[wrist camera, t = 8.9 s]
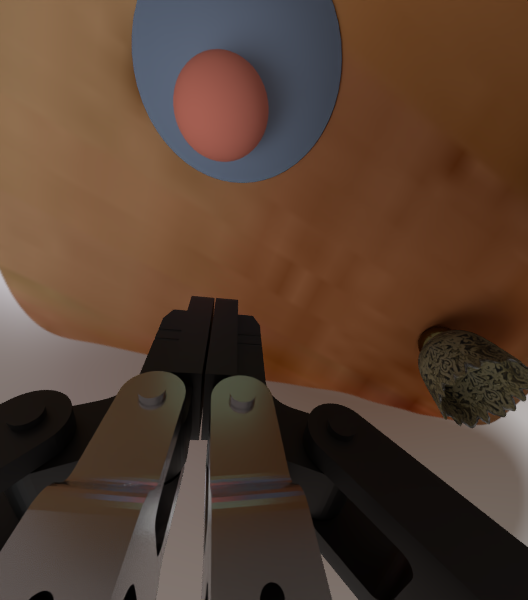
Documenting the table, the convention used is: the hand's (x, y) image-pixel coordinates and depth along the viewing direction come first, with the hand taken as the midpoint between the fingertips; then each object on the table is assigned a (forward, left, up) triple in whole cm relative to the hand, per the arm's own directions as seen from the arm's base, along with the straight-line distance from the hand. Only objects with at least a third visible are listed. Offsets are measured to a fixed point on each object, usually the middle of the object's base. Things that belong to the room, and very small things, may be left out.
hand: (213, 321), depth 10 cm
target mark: (-9, 0, -15) cm, 17 cm away
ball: (-7, -1, -12) cm, 14 cm away
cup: (+10, +22, -15) cm, 29 cm away
